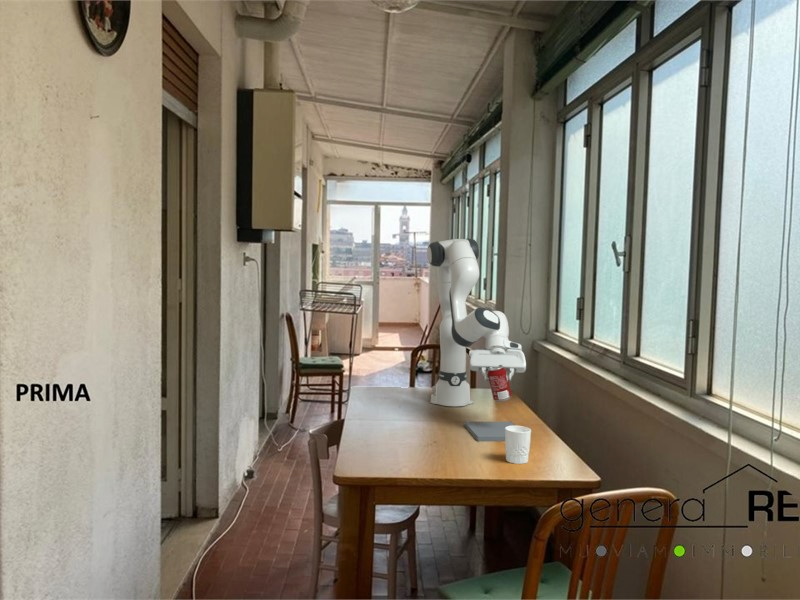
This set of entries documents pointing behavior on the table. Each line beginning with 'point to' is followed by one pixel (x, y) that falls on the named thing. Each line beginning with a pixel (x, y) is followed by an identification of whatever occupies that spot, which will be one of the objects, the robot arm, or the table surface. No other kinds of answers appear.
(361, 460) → the table surface
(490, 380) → the soda can
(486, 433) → the slate board
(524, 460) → the white cup
